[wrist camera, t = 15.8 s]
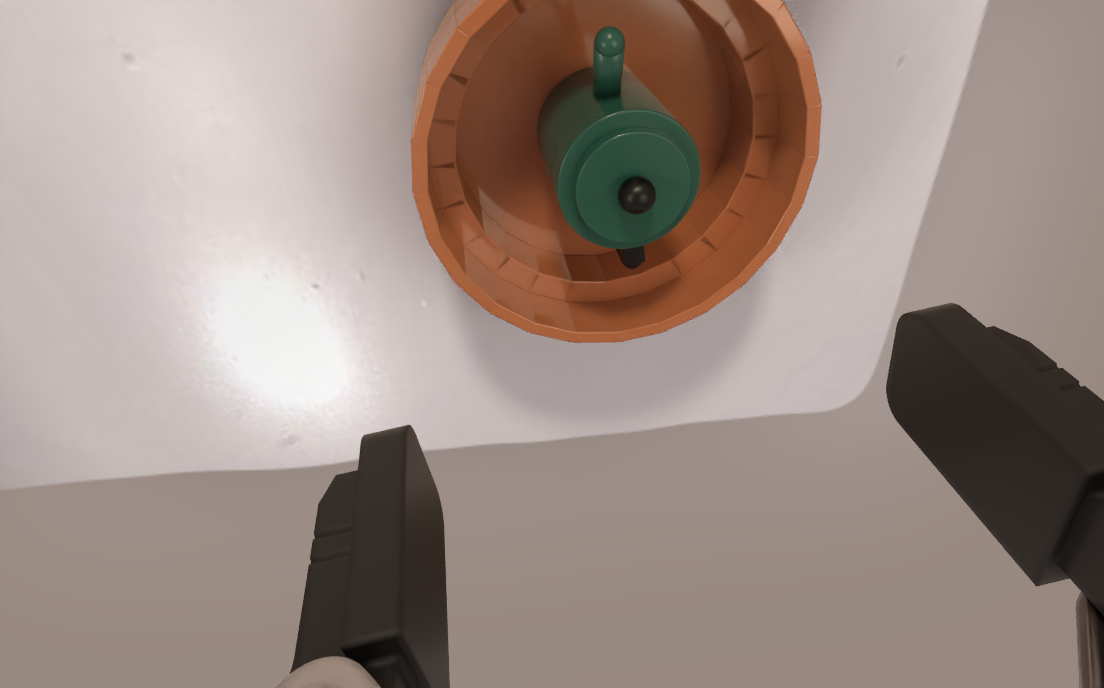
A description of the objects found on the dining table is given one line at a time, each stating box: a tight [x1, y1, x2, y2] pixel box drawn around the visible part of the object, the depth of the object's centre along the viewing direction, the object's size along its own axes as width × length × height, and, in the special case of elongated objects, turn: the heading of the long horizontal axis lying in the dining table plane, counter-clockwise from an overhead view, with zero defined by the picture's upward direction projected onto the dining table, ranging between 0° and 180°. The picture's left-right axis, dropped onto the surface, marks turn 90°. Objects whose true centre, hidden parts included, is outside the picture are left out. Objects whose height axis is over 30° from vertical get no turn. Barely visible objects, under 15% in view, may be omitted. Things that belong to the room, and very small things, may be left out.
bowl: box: [411, 0, 822, 343], centre depth 29 cm, size 16×16×6 cm
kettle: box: [537, 26, 701, 269], centre depth 28 cm, size 10×6×8 cm, turn 10°
